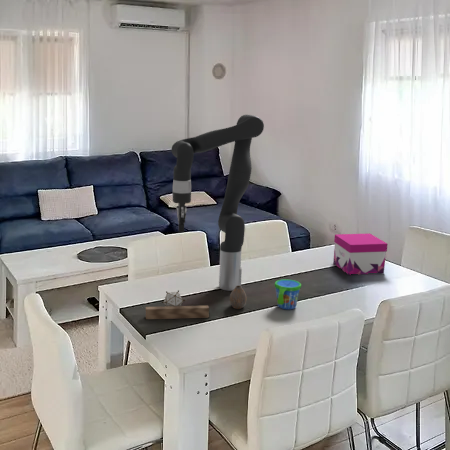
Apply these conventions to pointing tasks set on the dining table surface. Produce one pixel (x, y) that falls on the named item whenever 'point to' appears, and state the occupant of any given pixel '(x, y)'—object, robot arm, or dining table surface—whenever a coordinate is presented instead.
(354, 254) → the decorative box
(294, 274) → the dining table surface
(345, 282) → the dining table surface
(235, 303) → the vase
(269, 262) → the dining table surface
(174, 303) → the game die
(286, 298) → the snack cup
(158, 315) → the board
